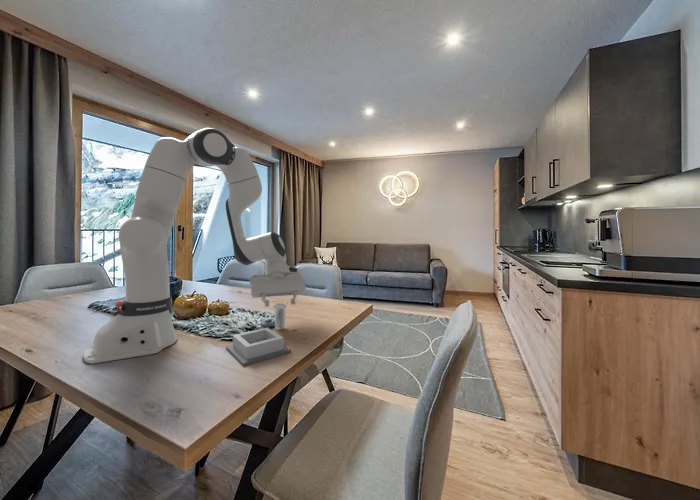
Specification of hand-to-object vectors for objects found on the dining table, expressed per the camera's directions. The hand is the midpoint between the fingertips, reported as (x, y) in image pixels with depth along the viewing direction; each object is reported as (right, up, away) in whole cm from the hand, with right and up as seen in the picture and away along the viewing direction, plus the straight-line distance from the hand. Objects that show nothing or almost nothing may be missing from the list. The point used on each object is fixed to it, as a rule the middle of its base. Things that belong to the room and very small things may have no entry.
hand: (280, 304), depth 108 cm
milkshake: (+1, -8, -2) cm, 9 cm away
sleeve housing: (-2, -10, -21) cm, 23 cm away
